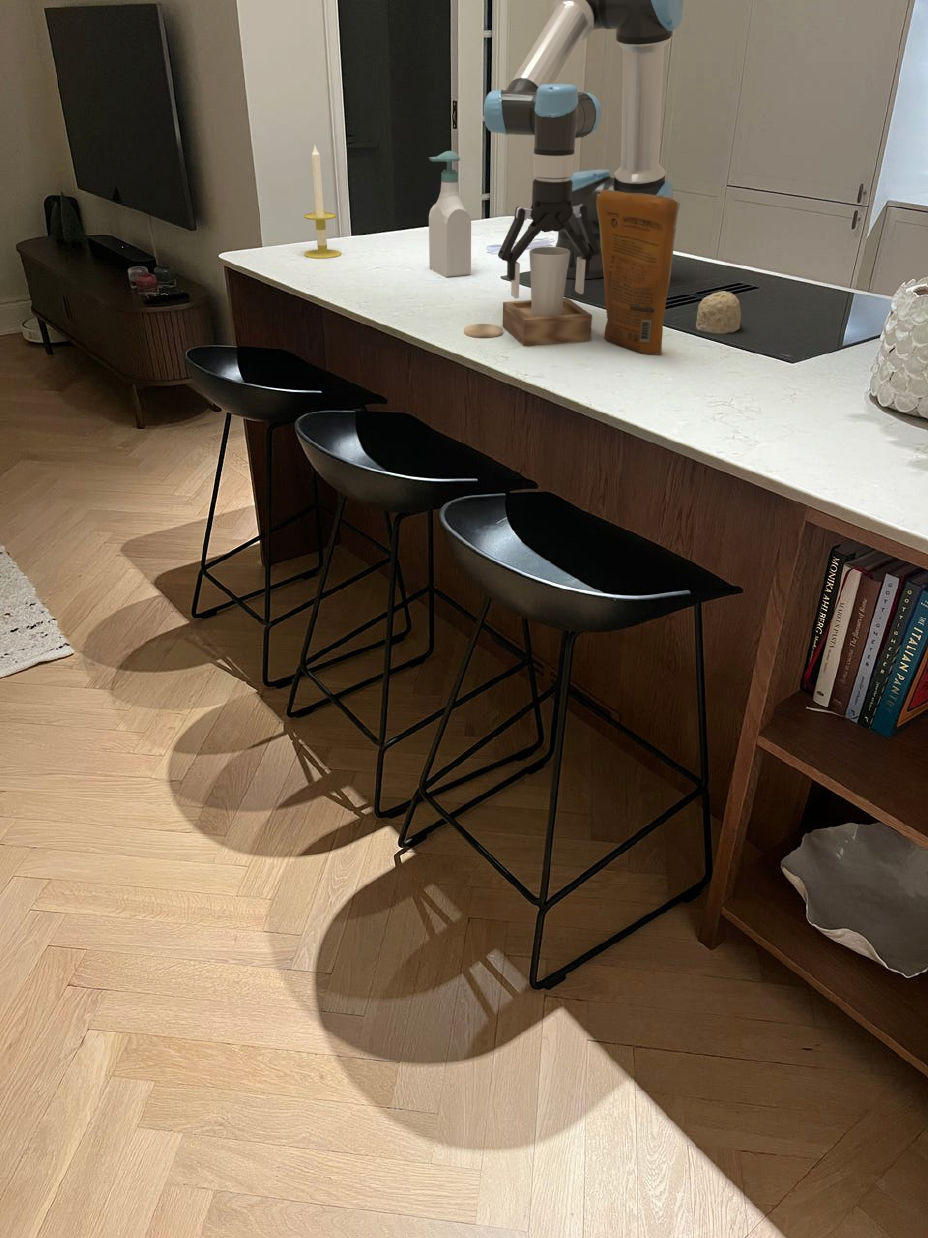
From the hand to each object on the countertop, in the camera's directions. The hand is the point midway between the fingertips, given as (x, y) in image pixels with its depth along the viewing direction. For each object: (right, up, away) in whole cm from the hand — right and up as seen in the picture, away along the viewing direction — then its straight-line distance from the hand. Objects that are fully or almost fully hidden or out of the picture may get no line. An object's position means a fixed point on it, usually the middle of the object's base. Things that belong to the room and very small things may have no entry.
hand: (547, 294), depth 192 cm
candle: (-54, +33, +66) cm, 92 cm away
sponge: (+36, -4, +8) cm, 37 cm away
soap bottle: (-21, +22, +49) cm, 58 cm away
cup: (0, -3, +2) cm, 4 cm away
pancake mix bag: (+16, -11, -3) cm, 19 cm away
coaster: (-13, -6, +5) cm, 15 cm away
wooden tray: (0, -7, +4) cm, 8 cm away
